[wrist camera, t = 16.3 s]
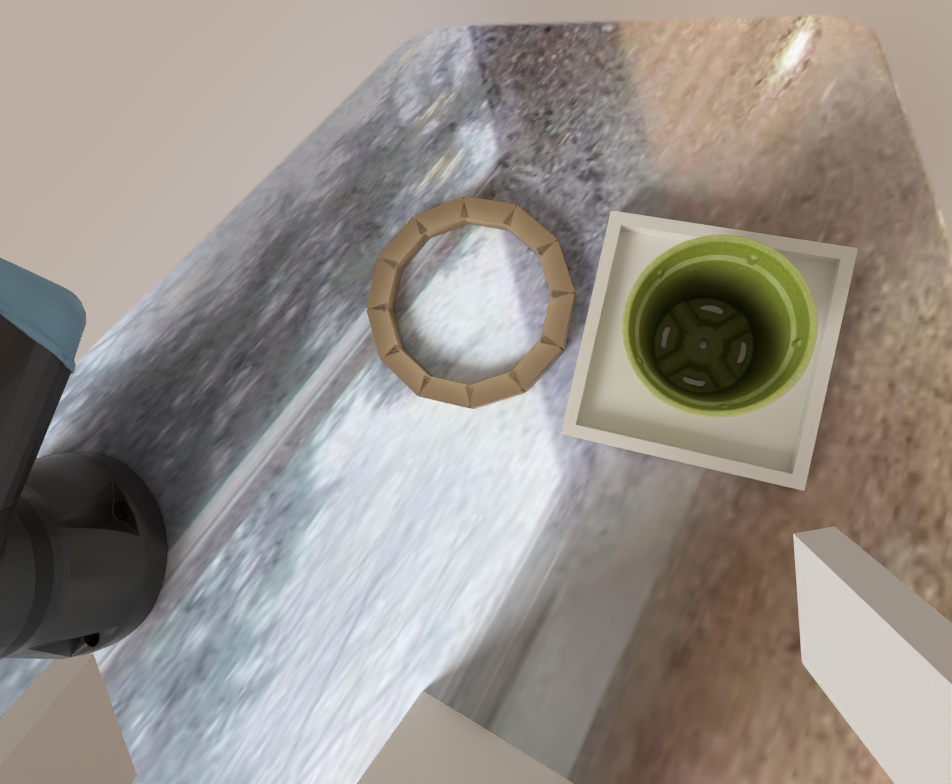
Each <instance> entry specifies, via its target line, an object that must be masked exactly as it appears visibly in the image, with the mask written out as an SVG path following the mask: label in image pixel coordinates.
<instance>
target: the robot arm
mask: <svg viewBox="0 0 952 784" xmlns="http://www.w3.org/2000/svg"><path fill="white" fill-rule="evenodd" d="M85 325H86V313H85V310H84V308H83V305H82V303H81V301H80V300H79V298H78V297H77V296H76V295H75V294H74V293H72V292H71V291H69V290H68V289H66V288H64V287H62V286H60V285H58V284H56V283H54V282H52V281H49V280H47V279H45V278H43V277H41V276H39V275H36V274H34V273H32V272H30V271H28V270H25V269H23V268H21V267H19V266H17V265H15V264H13V263H10V262H8V261H6V260H4V259H2V258H0V659H1V658H37V659H59V660H53V661H52V662H51V663H50V664H49V666H48V667H47V668H46V669H45V670H44V671H43V672H42V673H41V674H40V675H39V677H38V678H37V679H36V680H35V681H34V682H33V683H32V684H31V685H30V687H29V688H28V689H27V690H26V691H25V692H24V693H23V694H22V695H21V696H20V698H19V699H18V700H17V701H16V702H15V703H14V704H13V705H12V706H11V707H10V709H9V710H8V711H7V712H6V713H5V714H4V715H3V716H2V717H1V718H0V784H132V782H133V780H134V778H135V777H136V775H137V774H136V772H135V769H134V766H133V763H132V761H131V758H130V755H129V752H128V749H127V747H126V744H125V741H124V738H123V735H122V733H121V730H120V727H119V724H118V722H117V719H116V716H115V713H114V710H113V708H112V705H111V702H110V699H109V697H108V694H107V691H106V688H105V685H104V683H103V680H102V677H101V674H100V672H99V669H98V666H97V663H96V660H95V658H94V655H93V654H90V653H92V652H95V651H98V650H100V649H103V648H105V647H108V646H110V645H113V644H115V643H117V642H119V641H120V640H122V639H123V638H125V637H126V636H128V635H129V634H130V633H131V632H132V631H134V630H135V629H136V628H137V627H138V626H139V625H140V624H141V622H142V621H143V620H144V619H145V617H146V616H147V614H148V613H149V611H150V610H151V608H152V606H153V605H154V603H155V601H156V598H157V596H158V594H159V591H160V588H161V585H162V582H163V578H164V573H165V566H166V550H167V547H166V536H165V529H164V524H163V521H162V517H161V514H160V511H159V509H158V506H157V504H156V502H155V500H154V498H153V496H152V494H151V493H150V491H149V489H148V488H147V487H146V485H145V484H144V483H143V481H142V480H141V479H140V478H139V477H138V476H137V475H136V474H135V473H134V472H133V471H132V470H130V469H129V468H128V467H127V466H125V465H123V464H122V463H120V462H118V461H117V460H114V459H112V458H110V457H107V456H104V455H100V454H95V453H60V454H53V455H48V456H44V457H41V458H37V459H36V457H37V454H38V452H39V450H40V447H41V445H42V442H43V440H44V437H45V435H46V432H47V430H48V428H49V425H50V423H51V420H52V418H53V415H54V413H55V410H56V408H57V406H58V403H59V401H60V398H61V396H62V393H63V391H64V388H65V386H66V384H67V381H68V379H69V376H70V374H71V373H73V372H74V370H75V369H74V368H75V362H74V358H75V354H76V352H77V349H78V346H79V342H80V340H81V337H82V334H83V331H84V328H85ZM793 538H794V553H795V568H796V583H797V598H798V613H799V627H800V642H801V657H802V664H803V665H804V666H805V668H806V669H807V670H808V671H809V673H810V674H811V675H812V677H813V678H814V679H815V681H816V682H817V683H818V685H819V686H820V687H821V688H822V690H823V691H824V692H825V694H826V695H827V696H828V698H829V699H830V700H831V701H832V703H833V704H834V705H835V707H836V708H837V709H838V711H839V712H840V713H841V715H842V716H843V717H844V718H845V720H846V721H847V722H848V724H849V725H850V726H851V728H852V729H853V730H854V731H855V733H856V734H857V735H858V737H859V738H860V739H861V741H862V742H863V743H864V745H865V746H866V747H867V748H868V750H869V751H870V752H871V754H872V755H873V756H874V758H875V759H876V760H877V761H878V763H879V764H880V765H881V767H882V768H883V769H884V771H885V772H886V773H887V775H888V776H889V777H890V778H891V780H892V781H893V782H894V784H952V623H951V622H950V621H949V620H947V619H946V618H945V617H944V616H943V615H941V614H940V613H939V612H938V611H937V610H935V609H934V608H933V607H932V606H931V605H929V604H928V603H927V602H926V601H924V600H923V599H922V598H921V597H920V596H918V595H917V594H916V593H915V592H914V591H912V590H911V589H910V588H909V587H908V586H906V585H905V584H904V583H903V582H902V581H900V580H899V579H898V578H897V577H895V576H894V575H893V574H892V573H891V572H889V571H888V570H887V569H886V568H885V567H883V566H882V565H881V564H880V563H879V562H877V561H876V560H875V559H874V558H873V557H871V556H870V555H869V554H868V553H866V552H865V551H864V550H863V549H862V548H860V547H859V546H858V545H857V544H856V543H854V542H853V541H852V540H851V539H850V538H848V537H847V536H846V535H845V534H844V533H842V532H841V531H840V530H839V529H837V528H836V527H835V526H834V527H828V528H822V529H816V530H811V531H805V532H799V533H793ZM87 654H88V655H87Z"/></svg>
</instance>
